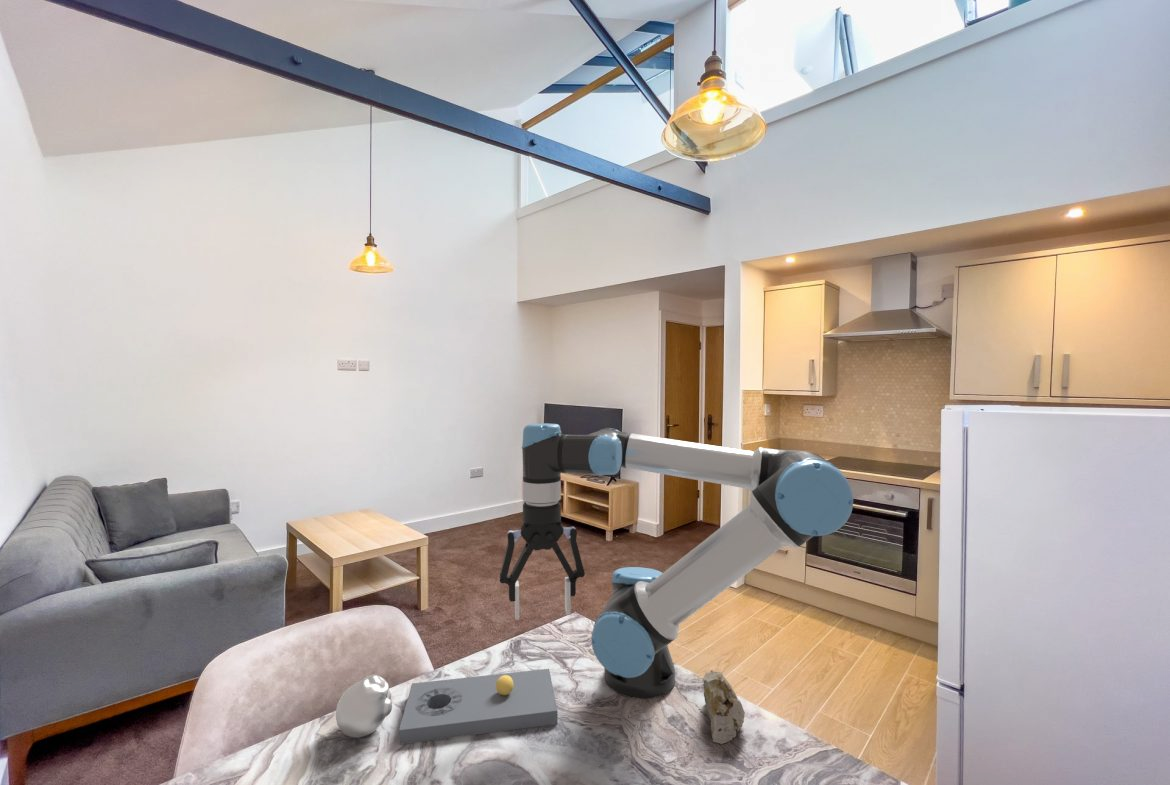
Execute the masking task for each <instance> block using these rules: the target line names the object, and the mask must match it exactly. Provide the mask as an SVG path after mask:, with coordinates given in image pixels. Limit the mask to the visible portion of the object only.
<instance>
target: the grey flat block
mask: <svg viewBox="0 0 1170 785" xmlns="http://www.w3.org/2000/svg"><path fill="white" fill-rule="evenodd" d="M503 675H508V676H510V677H511V678H512V680H513V684H514V685H513V689H512V691H511V692H510V693H509V694H507V695H501V694H499V693H498V691H497V689H496V683H497V680H498V679H499V678H500V677H501V676H503ZM551 677H552V676H551V671H550V668H544V669H533V670H524V671H515V672H505V673H498V674H497V673H496V674H495V673H494V674H489V675H487V674H486V675H477V676H469V677H459V678H451V679H449V678H448V679H441V680H440V679H439V680H431V681H422V682H414V683H411V685H410V689H409V692H408V697H407V701H406V703H405V704H406V705H405V707H404V711H403V715H402V719H401V722H400V725H399V732H398V740H399V741H398V742H399V745H404V744H413V743H420V742H427V741H436V740H443V739H451V738H457V737H458V738H460V737H466V736H475V735H476V736H477V735H481V734H489V733H490V734H491V733H497V732H499V733H500V732H505V731H513V730H514V731H515V730H521V729H529V728H537V727H543V726H551V725H552V726H553V725H558V722H559V721H558V720H559V719H558V706H557V701H556V697H555V693H554V692H555V691H554V686H553V681H552V678H551Z"/></svg>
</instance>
